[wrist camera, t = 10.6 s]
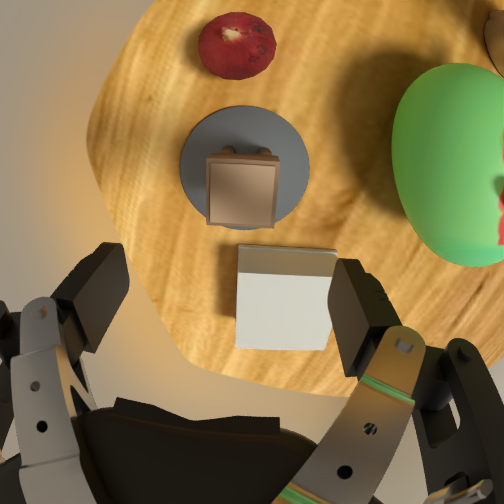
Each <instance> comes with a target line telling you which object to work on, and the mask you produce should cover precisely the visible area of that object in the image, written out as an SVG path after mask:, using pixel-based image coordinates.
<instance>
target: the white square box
mask: <svg viewBox="0 0 504 504" xmlns="http://www.w3.org/2000/svg"><path fill="white" fill-rule="evenodd" d="M337 254H338V252H337V250H330V249H314V248H298V247H281V246H264V245H246V244H239V246H238V271H237V299H236V346H235V348H244V349H267V350H324V349H325V346H326V343H327V340H328V337H329V334H330V331H331V328H332V322H331V318H330V314H329V311H328V306H327V297H328V291H329V288H330V284H331V280H332V276H333V272H334V268H335V264H336V261H337V259H338V258H337Z"/></svg>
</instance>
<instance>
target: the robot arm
mask: <svg viewBox="0 0 504 504" xmlns="http://www.w3.org/2000/svg"><path fill="white" fill-rule="evenodd" d="M489 14H490V18H489V20H488V21H487V22H486V24H485V30H484V33H485V41H486V45H487V49H488V52H489V54H490V57H491V59H492V61H493V63H494V65H495V67H496V68H497V70H498V71H499V73H500V74H501V75H502V76H503V77H504V10H501V11H494V12H489ZM128 290H129V274H128V269H127V264H126V258H125V253H124V248H123V245H122V244H120V243H109V242H103V243H101V244H100V245H99V247H98V248H97V249H96V250H95V251H94V252H93V253H92V254H90V255H88V256H87V257H85V258H84V259H82V260H81V261H80V262H79V263H78V264H77V265H76V266H75V268H74V270H72V271H71V272H70V273H69V274H68V276H67V277H66V278H65V279H64V280H63V281H62V283H61V284H60V285H59V286H58V287H57V289H56V290H55V291H54V292H53V294H52V295H51V296H50V297H40V298H36V299H34V300H32V301H30V302H29V303H28V304H27V305H26V306H25V307H24V308H23V310H22V312H12V313H10V312H9V311H8V308H7V307H6V304H5V303H4V302H3V301H1V300H0V358H1V360H2V363H1V365H0V504H383V503H382V502H381V501H380V500H378V499H377V498H376V497H375V496H374V495H373V494H374V493H375V491H376V489H377V487H378V486H379V484H380V482H381V480H382V478H383V476H384V474H385V472H386V471H387V469H388V467H389V465H390V463H391V461H392V458H393V456H394V454H395V452H396V449H397V448H398V445H399V443H400V441H401V439H402V436H403V434H404V431H405V429H406V426H407V424H408V422H409V419H410V417H411V414H412V417H413V421H414V425H415V429H416V434H417V438H418V442H419V447H420V452H421V456H422V461H423V467H424V473H425V478H426V484H427V491H428V497H427V498H426V500H425V501H424V503H423V504H504V404H503V402H502V400H501V397H500V395H499V393H498V390H497V388H496V386H495V384H494V382H493V379H492V377H491V375H490V373H489V371H488V369H487V367H486V365H485V363H484V361H483V359H482V357H481V355H480V353H479V351H478V350H477V348H476V347H475V346H474V345H473V344H472V343H470V342H469V341H467V340H465V339H462V338H454V339H452V340H451V341H450V342H449V343H448V345H447V346H446V348H445V349H441V348H436V347H431V346H426V345H425V342H424V340H423V338H422V337H421V336H420V334H418V333H417V332H416V331H415V330H413V329H411V328H409V327H406V326H403V325H402V323H401V321H400V319H399V317H398V315H397V313H396V311H395V310H394V308H393V306H392V304H391V302H390V301H389V298H388V296H387V294H386V293H385V291H384V289H383V287H382V285H381V283H380V282H379V281H378V280H377V279H376V278H375V277H374V276H373V275H372V274H370V273H366V272H365V271H364V269H363V267H362V265H361V263H360V261H359V260H358V259H345V258H338V259H337V261H336V264H335V268H334V272H333V276H332V280H331V284H330V288H329V291H328V297H327V306H328V311H329V314H330V318H331V322H332V326H333V329H334V333H335V337H336V341H337V345H338V349H339V353H340V357H341V361H342V365H343V369H344V373H345V377H356V376H357V379H358V384H357V385H356V387H355V389H354V390H353V392H352V394H351V395H350V397H349V399H348V400H347V402H346V404H345V405H344V407H343V409H342V410H341V412H340V413H339V415H338V416H337V418H336V419H335V421H334V422H333V424H332V425H331V427H330V428H329V430H328V431H327V433H326V434H325V435H324V437H323V438H322V439H321V441H320V442H319V444H318V445H317V444H316V443H314V442H313V441H312V440H310V439H308V438H306V437H305V436H303V435H301V434H298V433H296V432H293V431H290V430H287V429H283V428H280V418H279V417H252V416H232V417H225V418H217V419H209V420H199V421H193V420H188V419H186V418H183V417H181V416H178V415H176V414H173V413H171V412H168V411H166V410H163V409H161V408H159V407H157V406H154V405H150V404H146V403H141V402H137V401H132V400H127V399H123V398H119V397H117V398H116V401H115V404H114V407H108V408H100V409H98V407H97V405H96V403H95V401H94V398H93V395H92V392H91V389H90V385H89V382H88V378H87V375H86V372H85V368H84V364H83V361H82V358H81V356H80V355H81V353H82V352H83V351H86V352H90V353H95V352H96V350H97V348H98V346H99V344H100V342H101V340H102V338H103V336H104V334H105V333H106V331H107V328H108V327H109V325H110V323H111V321H112V319H113V318H114V316H115V314H116V312H117V310H118V309H119V306H120V305H121V303H122V301H123V300H124V298H125V296H126V294H127V292H128ZM452 398H453V399H454V401H455V404H456V407H457V410H458V413H459V416H460V426H459V428H458V430H457V426H456V423H455V420H454V417H453V414H452V411H451V408H450V405H449V402H450V401H451V399H452ZM13 418H14V419H15V426H16V433H17V438H18V444H19V449H20V453H18V454H16V455H15V456H13V457H12V458H10V459H8V460H5V459H4V458H3V457H1V451H2V448H3V445H4V442H5V439H6V437H7V434H8V431H9V428H10V426H11V423H12V421H13Z"/></svg>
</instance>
